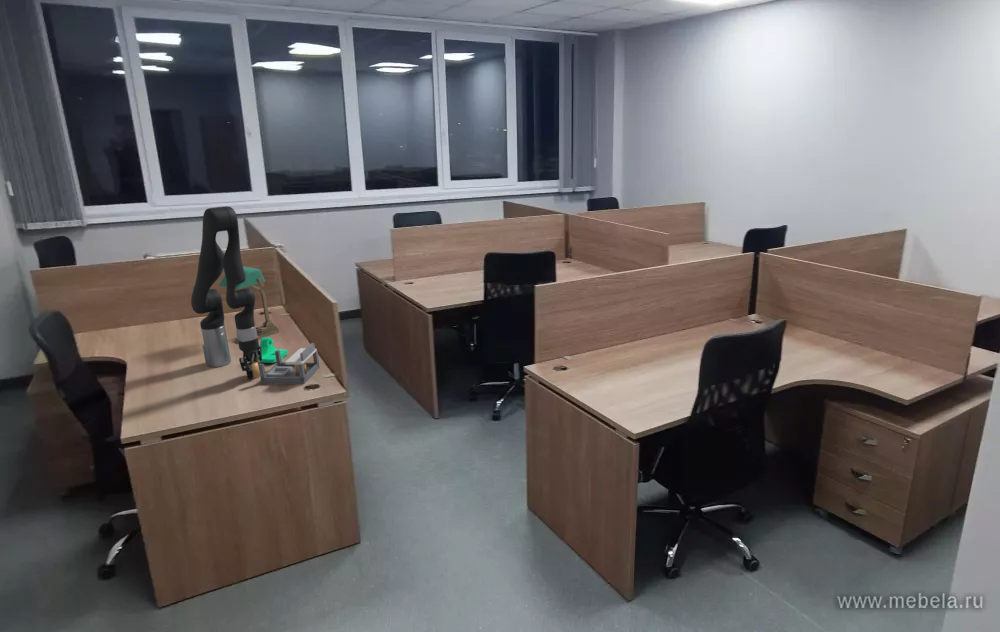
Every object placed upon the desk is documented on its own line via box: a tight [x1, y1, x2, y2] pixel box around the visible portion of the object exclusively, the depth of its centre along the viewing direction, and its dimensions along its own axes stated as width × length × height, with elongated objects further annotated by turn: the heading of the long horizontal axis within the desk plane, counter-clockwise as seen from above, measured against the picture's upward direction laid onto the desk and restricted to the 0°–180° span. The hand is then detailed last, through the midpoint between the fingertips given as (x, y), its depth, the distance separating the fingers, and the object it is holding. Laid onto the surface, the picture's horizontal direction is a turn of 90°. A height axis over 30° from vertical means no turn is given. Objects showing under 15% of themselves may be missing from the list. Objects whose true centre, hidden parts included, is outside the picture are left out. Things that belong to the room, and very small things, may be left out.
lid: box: [284, 342, 318, 365], centre depth 238 cm, size 7×15×4 cm, turn 175°
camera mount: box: [258, 336, 289, 364], centre depth 258 cm, size 12×8×10 cm, turn 167°
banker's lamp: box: [218, 265, 280, 343], centre depth 282 cm, size 16×21×35 cm
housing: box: [258, 350, 320, 385], centre depth 241 cm, size 18×16×8 cm
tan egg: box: [248, 362, 261, 380], centre depth 240 cm, size 4×4×6 cm
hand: (254, 375), depth 241 cm, fingers open, 5 cm apart
